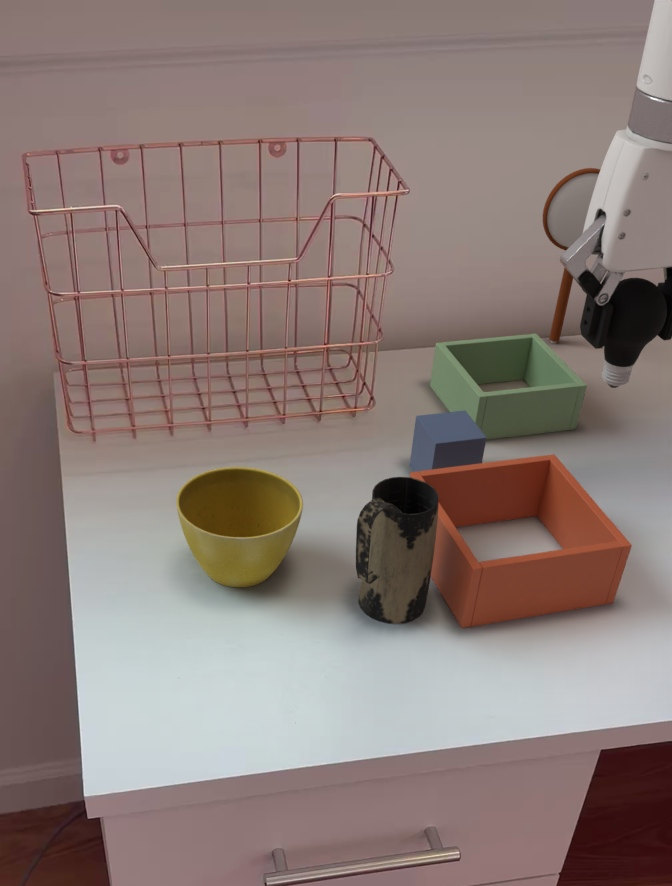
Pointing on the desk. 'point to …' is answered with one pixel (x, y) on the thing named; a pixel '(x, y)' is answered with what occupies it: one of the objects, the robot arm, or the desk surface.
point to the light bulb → (631, 326)
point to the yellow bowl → (239, 522)
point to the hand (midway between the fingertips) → (625, 335)
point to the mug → (396, 549)
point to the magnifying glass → (567, 227)
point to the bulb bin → (513, 410)
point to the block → (446, 441)
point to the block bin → (528, 576)
